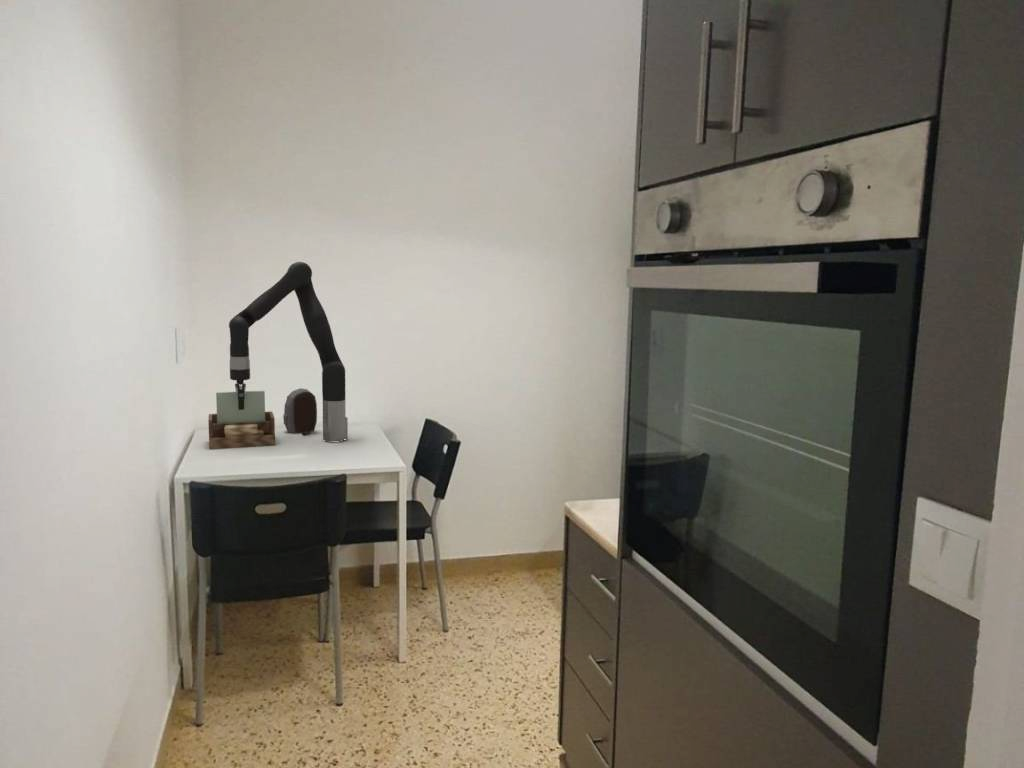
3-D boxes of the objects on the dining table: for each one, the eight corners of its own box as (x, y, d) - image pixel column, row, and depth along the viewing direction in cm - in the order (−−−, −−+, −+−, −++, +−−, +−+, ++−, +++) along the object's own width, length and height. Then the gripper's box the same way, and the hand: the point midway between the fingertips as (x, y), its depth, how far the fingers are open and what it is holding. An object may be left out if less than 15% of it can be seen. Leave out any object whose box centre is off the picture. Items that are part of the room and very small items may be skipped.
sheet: (265, 439, 297) (264, 390, 294) (265, 440, 295) (264, 391, 292) (217, 441, 290) (216, 392, 287) (217, 442, 288) (216, 393, 285)
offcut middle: (262, 435, 292) (262, 429, 291) (263, 438, 287) (263, 432, 287) (224, 438, 286) (224, 431, 285) (225, 440, 281) (225, 434, 281)
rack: (272, 441, 300) (272, 411, 298) (275, 449, 287) (274, 418, 285) (209, 444, 291) (208, 414, 289) (209, 453, 278) (208, 421, 276)
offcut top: (257, 430, 290) (257, 424, 289) (257, 433, 285) (257, 426, 285) (225, 431, 286) (225, 425, 286) (224, 434, 281) (224, 428, 281)
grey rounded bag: (289, 437, 306) (288, 391, 303) (279, 434, 312) (278, 388, 309) (320, 432, 317) (320, 387, 314) (310, 429, 323) (310, 385, 320)
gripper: (250, 369, 283) (251, 410, 285) (249, 364, 296) (250, 404, 298) (230, 370, 280) (231, 411, 282) (229, 365, 293) (230, 404, 295)
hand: (241, 407), depth 290 cm, fingers open, 8 cm apart
